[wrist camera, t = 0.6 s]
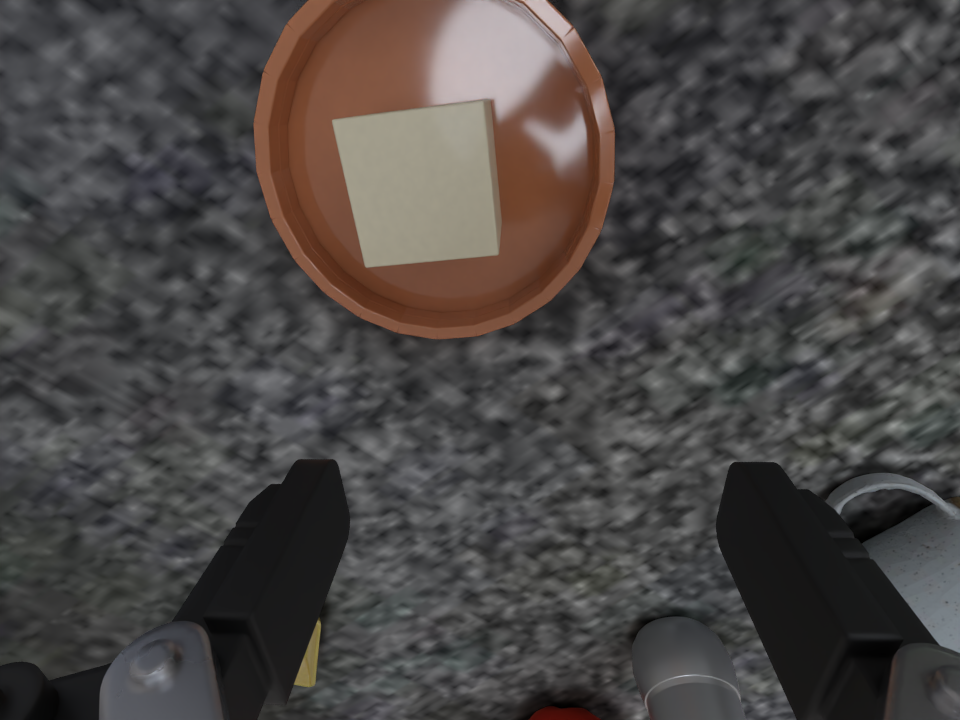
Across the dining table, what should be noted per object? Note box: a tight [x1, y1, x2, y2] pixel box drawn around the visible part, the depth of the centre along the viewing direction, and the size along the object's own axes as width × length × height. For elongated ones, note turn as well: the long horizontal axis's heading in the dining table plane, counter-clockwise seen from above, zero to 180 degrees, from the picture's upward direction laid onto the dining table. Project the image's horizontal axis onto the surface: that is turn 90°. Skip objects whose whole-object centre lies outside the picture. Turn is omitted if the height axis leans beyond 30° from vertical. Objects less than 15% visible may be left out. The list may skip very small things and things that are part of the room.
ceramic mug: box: [825, 473, 960, 653], centre depth 26 cm, size 11×8×8 cm
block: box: [332, 99, 502, 268], centre depth 19 cm, size 5×5×5 cm
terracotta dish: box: [254, 0, 615, 339], centre depth 21 cm, size 14×14×2 cm
